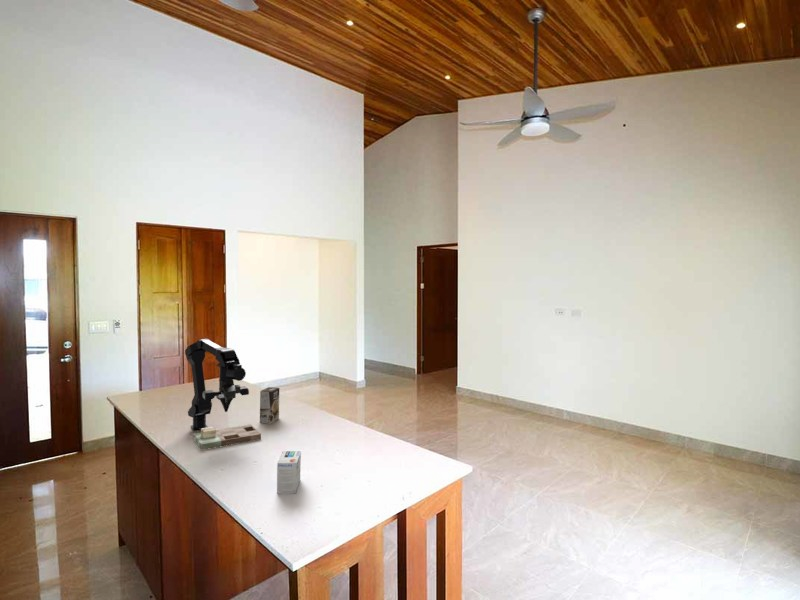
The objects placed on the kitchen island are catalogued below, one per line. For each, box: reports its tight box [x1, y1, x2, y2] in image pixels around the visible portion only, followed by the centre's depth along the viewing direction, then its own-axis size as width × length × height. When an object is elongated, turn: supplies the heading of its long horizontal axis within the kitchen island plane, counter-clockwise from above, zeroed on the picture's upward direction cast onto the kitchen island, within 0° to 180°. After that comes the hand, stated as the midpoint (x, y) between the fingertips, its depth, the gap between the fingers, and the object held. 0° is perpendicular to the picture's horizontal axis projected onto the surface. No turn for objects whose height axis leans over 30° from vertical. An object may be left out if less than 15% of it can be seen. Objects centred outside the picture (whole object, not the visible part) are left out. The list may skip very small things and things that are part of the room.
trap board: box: [193, 424, 262, 451], centre depth 200 cm, size 15×25×2 cm, turn 125°
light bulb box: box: [276, 450, 302, 495], centre depth 156 cm, size 11×7×11 cm, turn 5°
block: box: [200, 426, 217, 438], centre depth 197 cm, size 5×5×3 cm
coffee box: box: [259, 386, 280, 424], centre depth 227 cm, size 9×6×16 cm
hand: (225, 411), depth 201 cm, fingers closed
